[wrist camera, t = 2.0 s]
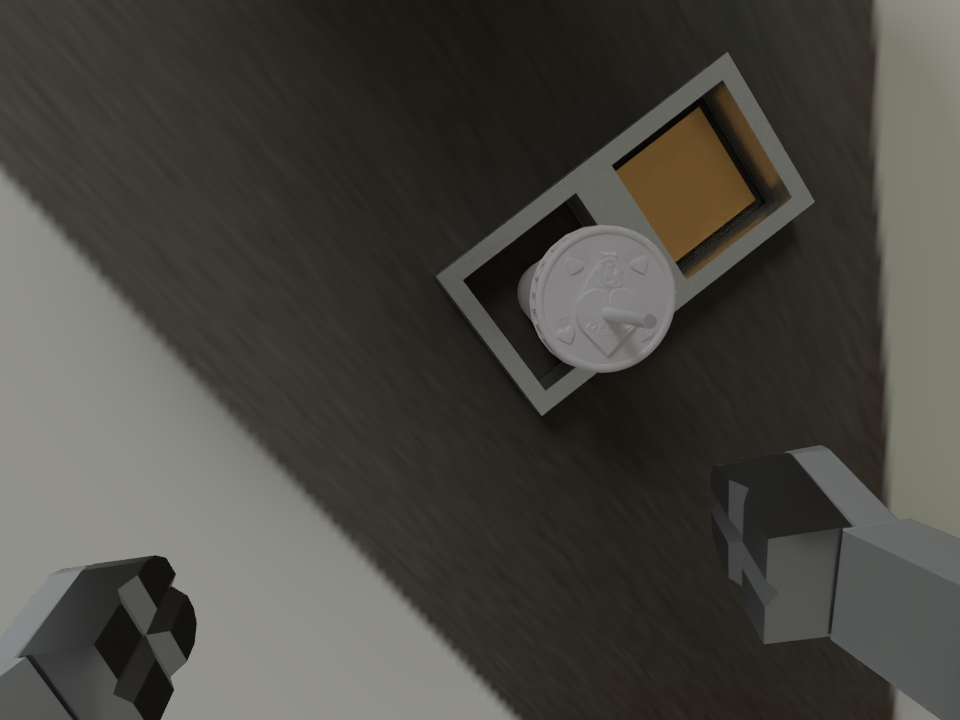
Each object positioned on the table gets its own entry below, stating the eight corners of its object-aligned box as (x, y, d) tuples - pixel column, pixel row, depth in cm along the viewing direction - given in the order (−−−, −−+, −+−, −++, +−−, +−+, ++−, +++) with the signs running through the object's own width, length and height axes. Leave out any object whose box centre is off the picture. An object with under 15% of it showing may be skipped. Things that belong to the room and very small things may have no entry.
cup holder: (432, 276, 34) (435, 276, 32) (703, 67, 35) (727, 51, 33) (531, 406, 36) (541, 415, 34) (786, 206, 37) (814, 201, 35)
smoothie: (494, 348, 36) (563, 398, 22) (493, 236, 35) (564, 214, 21) (600, 345, 37) (729, 390, 23) (602, 235, 36) (737, 213, 22)
